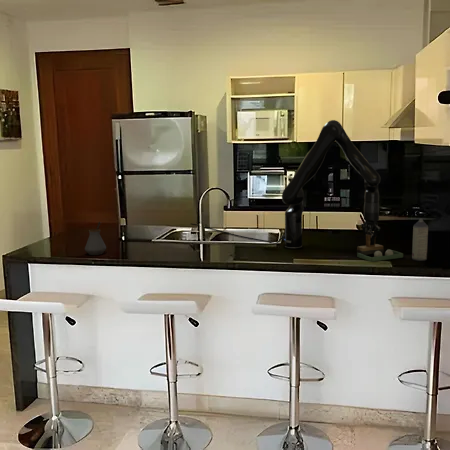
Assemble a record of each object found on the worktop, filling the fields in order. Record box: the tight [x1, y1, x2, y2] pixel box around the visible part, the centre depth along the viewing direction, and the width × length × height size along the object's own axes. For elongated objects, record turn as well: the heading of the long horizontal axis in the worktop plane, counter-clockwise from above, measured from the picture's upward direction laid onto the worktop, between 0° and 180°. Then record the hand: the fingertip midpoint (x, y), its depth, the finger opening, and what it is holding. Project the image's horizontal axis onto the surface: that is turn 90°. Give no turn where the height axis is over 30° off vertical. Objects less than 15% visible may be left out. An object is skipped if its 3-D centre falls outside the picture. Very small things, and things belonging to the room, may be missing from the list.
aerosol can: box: [411, 218, 429, 262], centre depth 260 cm, size 7×7×20 cm
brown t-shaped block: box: [356, 234, 385, 256], centre depth 274 cm, size 5×13×10 cm, turn 112°
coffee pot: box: [84, 221, 107, 256], centre depth 294 cm, size 21×12×15 cm, turn 2°
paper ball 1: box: [373, 251, 383, 257], centre depth 264 cm, size 4×4×4 cm
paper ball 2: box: [384, 249, 394, 256], centre depth 266 cm, size 4×4×4 cm
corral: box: [356, 248, 404, 262], centre depth 268 cm, size 12×19×2 cm, turn 112°
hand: (370, 244), depth 274 cm, fingers closed on brown t-shaped block, 2 cm apart
